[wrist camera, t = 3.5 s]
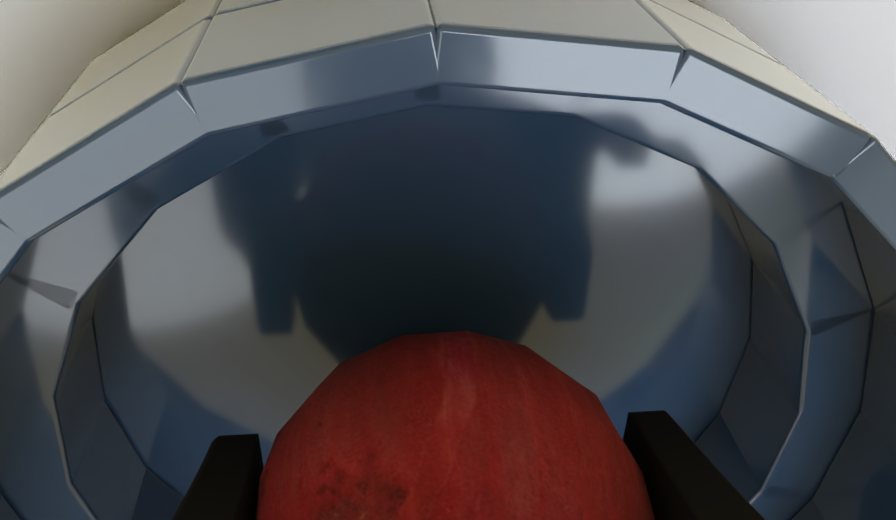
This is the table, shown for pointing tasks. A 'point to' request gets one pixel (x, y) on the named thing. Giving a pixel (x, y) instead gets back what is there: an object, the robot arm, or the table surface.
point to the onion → (451, 440)
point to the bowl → (444, 239)
